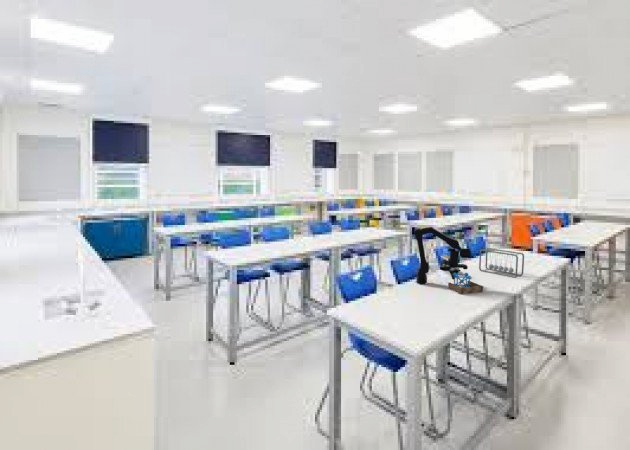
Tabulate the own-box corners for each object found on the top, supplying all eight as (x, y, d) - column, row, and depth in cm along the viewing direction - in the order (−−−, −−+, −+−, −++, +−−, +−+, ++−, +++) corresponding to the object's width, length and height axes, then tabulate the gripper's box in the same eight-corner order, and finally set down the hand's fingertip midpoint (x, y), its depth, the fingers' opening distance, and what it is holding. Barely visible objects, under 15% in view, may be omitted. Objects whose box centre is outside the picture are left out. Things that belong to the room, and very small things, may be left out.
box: (461, 294, 241) (461, 288, 241) (448, 288, 255) (448, 282, 255) (482, 292, 246) (483, 286, 245) (468, 286, 259) (468, 280, 259)
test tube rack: (457, 276, 285) (457, 259, 283) (451, 276, 285) (451, 259, 283) (445, 269, 310) (445, 253, 308) (440, 269, 310) (440, 253, 308)
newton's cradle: (523, 276, 284) (524, 253, 282) (516, 278, 278) (517, 254, 276) (485, 268, 308) (486, 247, 306) (478, 270, 302) (479, 249, 300)
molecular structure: (467, 286, 259) (468, 272, 257) (471, 290, 249) (471, 276, 248) (452, 286, 260) (452, 272, 259) (455, 290, 250) (455, 275, 249)
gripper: (458, 254, 271) (457, 275, 273) (435, 256, 266) (435, 277, 268) (468, 257, 260) (467, 279, 262) (445, 259, 255) (444, 281, 257)
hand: (453, 279), depth 262 cm, fingers closed
